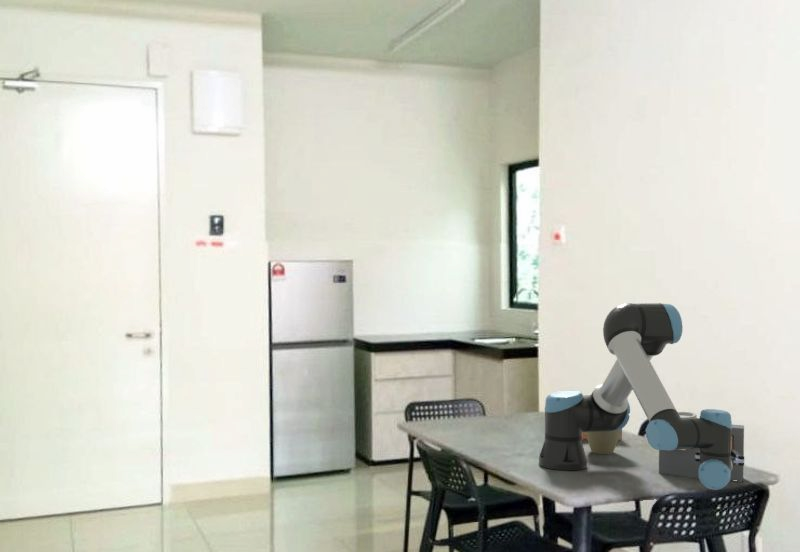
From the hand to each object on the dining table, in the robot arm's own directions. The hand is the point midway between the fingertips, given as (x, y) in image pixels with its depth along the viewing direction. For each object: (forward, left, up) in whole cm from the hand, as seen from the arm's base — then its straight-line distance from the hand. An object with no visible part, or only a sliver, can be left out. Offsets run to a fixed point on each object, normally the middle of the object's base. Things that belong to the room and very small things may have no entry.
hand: (723, 448), depth 242 cm
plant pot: (+18, +47, -11) cm, 52 cm away
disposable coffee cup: (+28, +23, -11) cm, 38 cm away
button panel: (+7, +9, -11) cm, 16 cm away
